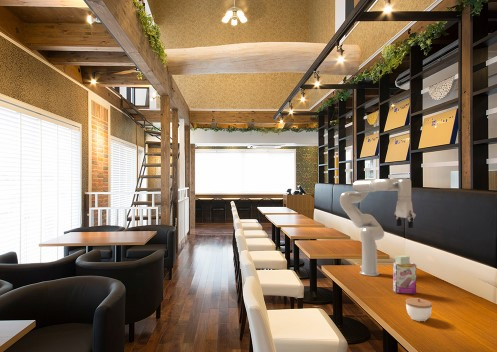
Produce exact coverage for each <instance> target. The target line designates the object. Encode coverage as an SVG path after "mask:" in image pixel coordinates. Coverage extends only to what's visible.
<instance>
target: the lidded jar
mask: <svg viewBox="0 0 497 352" xmlns="http://www.w3.org/2000/svg"><path fill="white" fill-rule="evenodd" d="M405 308H406V312H407V314H408V316H409V317H410V319H411V320H412V321H416V322H420V321H424V322H427V320H428V319H429V318H430V317H431V315H432V309H433V303H432V302H431V301H429V300H427V299H424V298H420V297H410V298H409V297H408V298H406V299H405Z"/></svg>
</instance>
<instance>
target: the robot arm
mask: <svg viewBox="0 0 497 352" xmlns="http://www.w3.org/2000/svg"><path fill="white" fill-rule="evenodd" d="M352 189H353V190H352V191H351V190H350V191H344V192H343V193H341V194H340V197H339V204H340V207H341V209H342V210H343V212H345V214H346V215H347V216H348V217H349V219H350V221H351V222H352V223H353V224H354V225H355V227H356V228H359V229H360V230H361V231H360V240H361V263H362V264H361V265H360V266H359V268H360V269H361V270H360V271H359V274H360V275H363V276H367V277H368V276H369V277H377V276H380V272H379V271H378V247H377V243H376V241H379V240H381V239H383V238H384V237H385V232H384V229H383V227H382V225H381V224H380V223H379V222H378V221H377V220H376V218H375V217H374V216H373V215H371V214H370V213H362V212H361V210H360V209H359V208H358V207H357V206H356V205H355V204H358V203H361V202H362V201H363V200H364V199H365V198H366V197H367V196H368V194H370V193H375V192H383V191H384V192H388V191H389V192H391V191H397V201H396V206H395V211H394V213H393V214H394V217H395V220H396V226H397V227H402V224H403V223H402V222H403V221H402V218H403V219H407V228H408V229H413V228H414V222H415V221H414V220H415V219H416V216H417V214H416V213H415V212H414V209H413V203H412V202H413V201H412V180H411V179H410V178H409V179H408V178H400V179H398V178H380V179H379V178H378V179H374V178H372V179H358V180H355V181H354V182H353V183H352Z"/></svg>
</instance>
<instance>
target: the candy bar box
mask: <svg viewBox="0 0 497 352" xmlns="http://www.w3.org/2000/svg"><path fill="white" fill-rule="evenodd" d="M392 265H393V269H392V273H393V274H392V277H393V278H392V280H393V281H392V285H393V286H392V291H393V292H394V293H395V294H403V295H404V294H405V295H408V294H409V295H416V294H417V264H415V263H414V262H410V264H403V265H400V264H397V263H396V261H395V262H393V264H392Z"/></svg>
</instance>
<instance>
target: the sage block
mask: <svg viewBox="0 0 497 352" xmlns="http://www.w3.org/2000/svg"><path fill="white" fill-rule="evenodd" d="M395 262H396V263H397V264H400V265H403V264H410V263H411V262H410V256H408V255H405V254H404V255H395Z"/></svg>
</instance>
